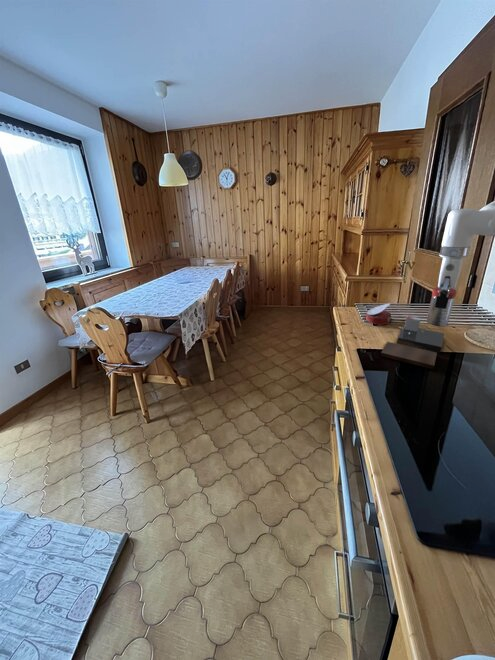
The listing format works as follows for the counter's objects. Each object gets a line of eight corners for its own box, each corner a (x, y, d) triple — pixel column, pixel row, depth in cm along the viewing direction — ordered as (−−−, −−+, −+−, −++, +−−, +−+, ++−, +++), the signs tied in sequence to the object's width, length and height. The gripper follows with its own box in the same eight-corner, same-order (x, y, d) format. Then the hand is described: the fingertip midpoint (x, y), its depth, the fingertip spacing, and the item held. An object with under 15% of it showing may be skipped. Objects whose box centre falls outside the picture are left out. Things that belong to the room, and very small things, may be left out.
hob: (443, 337, 109) (445, 331, 108) (440, 353, 100) (442, 346, 98) (399, 328, 117) (400, 322, 116) (392, 342, 108) (393, 336, 107)
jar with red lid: (448, 320, 101) (457, 288, 95) (447, 327, 96) (456, 294, 91) (427, 317, 104) (434, 286, 99) (424, 324, 100) (432, 292, 94)
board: (436, 356, 98) (437, 352, 97) (433, 369, 92) (434, 365, 91) (386, 344, 107) (387, 341, 106) (380, 356, 100) (381, 352, 100)
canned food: (377, 334, 124) (372, 318, 118) (363, 322, 132) (358, 307, 126) (400, 319, 123) (396, 303, 117) (384, 309, 131) (380, 293, 125)
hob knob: (417, 329, 110) (420, 317, 108) (417, 331, 109) (420, 319, 106) (404, 327, 113) (407, 315, 110) (403, 329, 111) (406, 317, 109)
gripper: (468, 258, 81) (453, 315, 89) (469, 246, 93) (455, 297, 101) (437, 256, 85) (425, 311, 93) (442, 245, 97) (431, 294, 105)
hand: (441, 303), depth 97 cm, fingers closed on jar with red lid, 6 cm apart
